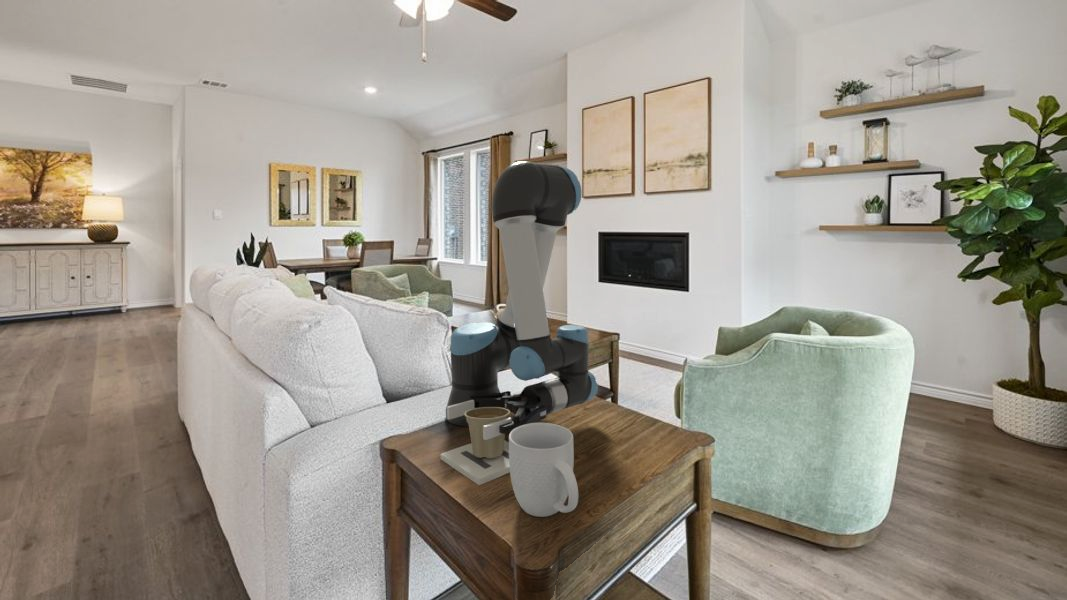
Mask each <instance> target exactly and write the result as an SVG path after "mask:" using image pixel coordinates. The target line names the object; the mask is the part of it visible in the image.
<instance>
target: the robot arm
mask: <svg viewBox="0 0 1067 600" xmlns="http://www.w3.org/2000/svg"><path fill="white" fill-rule="evenodd" d="M581 199H582V186H581V183H580V181H579V178H578V176H577V175H576V173H575V172H573V171H572V170H571V169H569V167H564V166H560V165H558V164H550V163H549V164H548V163H539V162H533V161H527V160H526V161H525V160H524V161H523V160H521V161H517V162H514V163H512V164H510V165H508V166H507V167H506V168H505V169H504V170H503V171H502V172H501V174H500V175H499V176H498V178H497V180H496V182H495V185H494V188H493V191H492V198H491V214H492V220H493V222H492V223H493V226H495V227H496V228H497V229H498V230H499V236H500V241H501V248H502V254H503V260H504V266H505V274H506V279H507V285H508V293H507V297H506V301H505V308H504V309H502V310H501V311H499V312H498V314H497V317H496V322H495V324H494V323H492V322H487V321H480V322H479V321H478V322H472V323H466V324H463V325H461V326H458V327H456V328H454V330H453V331H452V332H451V335H450V346H449V351H450V366H451V367H450V369H451V371H450V372H451V374H450V375H451V390H450V393H449V397H448V400H447V402H446V403H447V405H446V407H445V419H446V421H447V422H448V423H450V424H452V425H455V426H460V427H466V428H469V425H468V423H467V419H466V417H465V415H464V413H465V412H466V411H468V410H471V409H474V408H481V407H500V408H505V409H508V410H509V411H510V413H512V414H513V415H512V417H509V416H508V418H506V419H503V420H499V421H496V422H493V423H490V424H487V425H484V426H483V439H484V440H488V439H491V438H493V437H496V436H499V435H502V434H505V435H506V434H508V433H510V432H511V431H512V430H513V429H515V428H517V427H519V426H522V425H525V424H530V423H540V421H542V420H544V419H546V418H547V415H549V414H553V415H554V413H556V412H558V411H561V410H562V411H563V410H565V409H567V408H571V407H573V406H577V405H582V404H584V403H586V402H588V401H591V400H593V398H595V396H596V394H597V393H598V390H599V389H598V388H599V386H598V385H599V384H598V383H597V381H596V379H597V378H596V376H595V375H594V374H593V373H592V372H590V371H589V354H590V353H589V351H590V350H589V348H590V347H589V346H590V342H589V330H588V329H587V328H586V327H585V326H583V325H577V324H576V325H575V324H570V325H569V324H566V325H562V326H559V327H558V328H557V331H556V337H555V338H551V333H550V328H549V321H548V314H547V308H546V302H545V296H544V286H545V282H546V278H547V273H548V269H549V265H550V262H551V258H552V253H553V249H554V246H555V240H556V238H557V232H558V231H559V230H561V229H563V228H564V227H565V226H566V221H567V218H568V215H571V214H572V213H574V211H576V210H577V208H578V207H579V206H580V203H581V201H582V200H581ZM509 368H510V370H511V372H512V374H513V375H514V376H515V377H516V378H517V379H518V380H521V381H524V382H526V381H530V380H534V379H540V378H542V377H546V376H548V375H550V374H554V373H556V372H557V377H555V378H551V379H547V380H543V381H540V382H537V383H534V384H530V385H527V386H525V387H524V388H523V389H522V391H521V393H520V394H512V393H511V391H509V390H507V391H502V392H501V391H500V388H499V384H498V382H499V381H498V377H499V376H498V371H502V370H505V369H509ZM511 394H512V395H511Z"/></svg>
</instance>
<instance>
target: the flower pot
mask: <svg viewBox="0 0 1067 600" xmlns="http://www.w3.org/2000/svg"><path fill="white" fill-rule="evenodd" d="M505 408H506V407H505ZM505 408H500V407H481V408H474V409H471V410H468V411H466V412H465V413H464V415H465V417H466V419H467V423H468V425H469V427H468V428H469V434H470V435H469V436H470V437H469V438H470V441H471V444H472V450H473V455H474V456H476V457H478V458H482V457H487V458H494V457H498V456H500V455H502V453H503V448H504V440H505V437H506V433H505V434H502V435H499V436H496V437H493V438H491V439H488V440H484V439H483V426H484V425H487V424H490V423H493V422H496V421H499V420H503V419H506V418H509V415H511V412H510V411H509V410H508V409H505Z"/></svg>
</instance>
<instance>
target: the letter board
mask: <svg viewBox="0 0 1067 600" xmlns="http://www.w3.org/2000/svg"><path fill="white" fill-rule="evenodd" d="M440 460H441V461H443V462H444V463H446V464H447V465H449V466H450V467H451V468H453V469H454V470H456V471H458V472H459V473H460V474H461V475H463V476H464V477H466V478H467V479H469V480H470V481H472V482H473V483H475V484H476V485H478V486H481V485H483V484H485V483H488V482H490V481H492V480H495V479H497V478H498V479H499V478H500V477H502V476H506V475H507V474H510V464H509V441H507V440H505V439H504V448H503V453H502V455H500V456H498V457H494V458H487V457H482V458H478V457H476V456H474V455H473V450H472V444H471V443H467V444H465V445H462V446H459V447H456V448H452V449H451V450H448V451H444V452H442V453H440Z"/></svg>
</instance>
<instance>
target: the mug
mask: <svg viewBox="0 0 1067 600" xmlns="http://www.w3.org/2000/svg"><path fill="white" fill-rule="evenodd" d="M508 442H509V464H510V473H509V475H510V480H511V486H512V490H513V493H514V496H515V498H516V501H517V502H518V504H519V506H520V507H521V509H522V510H523V511H524V512H525V513H526V514H528V515H530V516H533V517H539V518H545V517H550V516H553V515H555V514H557V513H558V512H560V513H564V514H565V513H570V512H572V511H574V510H575V509H576V507H577V506H578V503H579V488H578V483H577V479H576V475H575V473H574V466H575V465H574V461H575V459H574V458H575V456H574V453H575V451H574V435H573V432H572V431H571V430H570V429H568V428H566V426H563V425H561V424H560V425H559V424H555V423H551V422H538V423H530V424H525V425H522V426H519V427H517V428H515V429H513V430H512V431H511V432H509V435H508ZM567 498H568V499H567ZM566 500H568V502H567V505H565V503H566Z"/></svg>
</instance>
